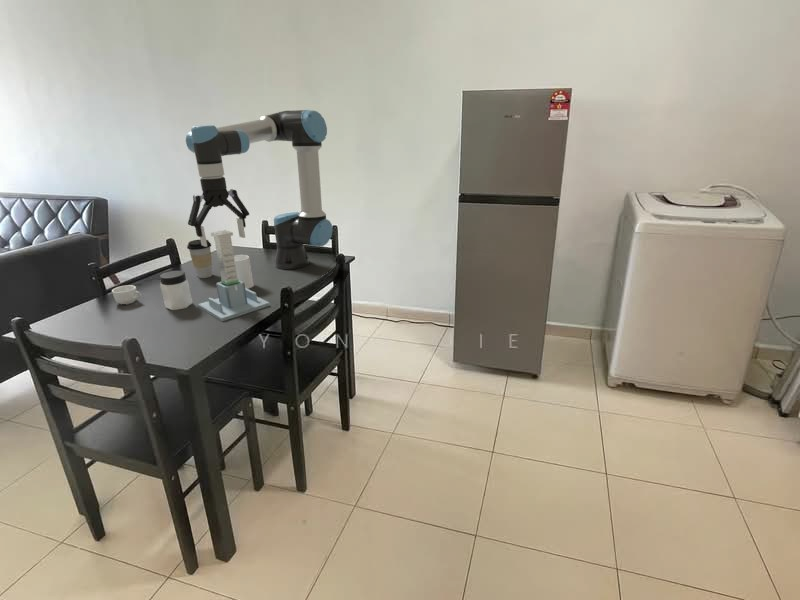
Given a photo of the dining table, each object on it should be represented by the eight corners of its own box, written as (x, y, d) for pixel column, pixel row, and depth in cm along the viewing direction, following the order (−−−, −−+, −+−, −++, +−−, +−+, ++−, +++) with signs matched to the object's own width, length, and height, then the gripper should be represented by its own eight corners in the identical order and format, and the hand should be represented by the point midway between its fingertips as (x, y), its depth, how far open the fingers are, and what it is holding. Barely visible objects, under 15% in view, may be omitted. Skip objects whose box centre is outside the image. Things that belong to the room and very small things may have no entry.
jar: (165, 311, 159) (157, 279, 154) (165, 303, 166) (158, 272, 161) (192, 307, 162) (186, 275, 158) (192, 299, 169) (185, 269, 165)
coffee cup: (206, 280, 188) (199, 245, 183) (188, 278, 191) (180, 243, 186) (221, 273, 197) (215, 239, 191) (203, 271, 200) (197, 238, 194)
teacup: (110, 306, 165) (106, 292, 163) (124, 298, 172) (121, 284, 170) (135, 307, 164) (132, 293, 161) (149, 299, 171) (146, 285, 169)
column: (234, 283, 163) (225, 230, 155) (241, 286, 160) (232, 232, 152) (220, 287, 159) (210, 232, 152) (227, 290, 156) (217, 235, 149)
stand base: (244, 293, 174) (241, 271, 171) (269, 305, 163) (266, 282, 159) (198, 307, 162) (193, 283, 159) (222, 321, 151) (217, 296, 147)
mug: (240, 294, 174) (235, 264, 169) (221, 291, 176) (216, 262, 171) (258, 283, 184) (254, 255, 179) (240, 281, 186) (236, 253, 182)
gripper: (242, 171, 156) (251, 232, 164) (167, 181, 139) (182, 247, 148) (253, 173, 151) (262, 235, 159) (177, 183, 135) (192, 251, 143)
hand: (224, 241), depth 154 cm, fingers open, 13 cm apart
